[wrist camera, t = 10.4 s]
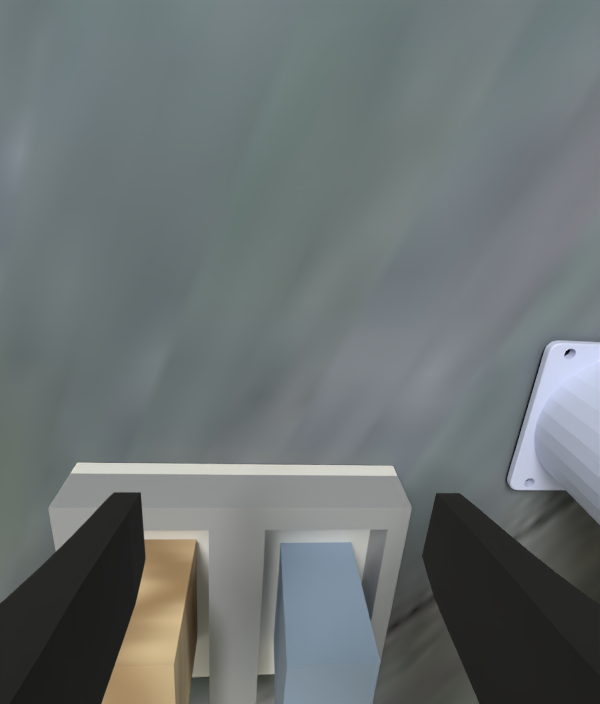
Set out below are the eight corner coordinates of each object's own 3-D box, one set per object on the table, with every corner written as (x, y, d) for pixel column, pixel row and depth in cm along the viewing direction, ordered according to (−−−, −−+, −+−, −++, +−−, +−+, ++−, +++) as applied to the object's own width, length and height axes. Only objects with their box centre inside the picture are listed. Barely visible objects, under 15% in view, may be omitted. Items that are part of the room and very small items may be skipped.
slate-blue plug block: (350, 542, 22) (380, 662, 17) (337, 637, 25) (358, 769, 19) (280, 542, 22) (286, 665, 17) (273, 639, 25) (277, 774, 19)
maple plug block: (196, 539, 22) (173, 664, 16) (197, 638, 24) (178, 776, 19) (120, 539, 21) (69, 667, 16) (129, 640, 24) (89, 782, 18)
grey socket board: (392, 466, 22) (411, 507, 19) (359, 657, 27) (370, 712, 24) (77, 462, 20) (48, 507, 18) (104, 666, 25) (85, 726, 23)
